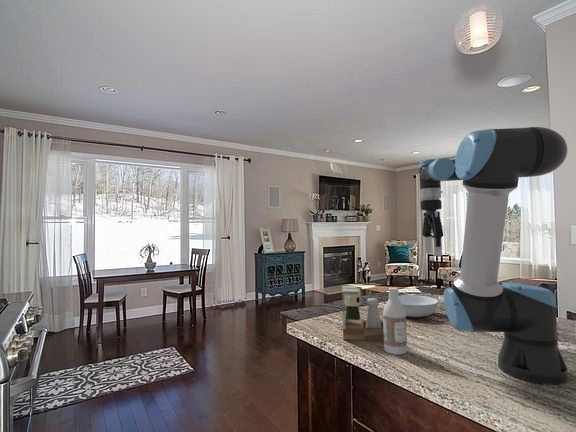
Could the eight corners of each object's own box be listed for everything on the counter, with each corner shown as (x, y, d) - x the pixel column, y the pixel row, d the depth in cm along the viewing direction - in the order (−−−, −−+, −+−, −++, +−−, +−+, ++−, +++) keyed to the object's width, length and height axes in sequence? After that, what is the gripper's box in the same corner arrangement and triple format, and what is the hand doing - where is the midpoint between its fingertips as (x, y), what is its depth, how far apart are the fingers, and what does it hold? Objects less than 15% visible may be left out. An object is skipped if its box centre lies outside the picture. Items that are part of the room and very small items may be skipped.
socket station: (393, 342, 111) (391, 292, 112) (343, 340, 114) (342, 291, 115) (388, 331, 123) (387, 286, 124) (343, 329, 126) (342, 285, 127)
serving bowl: (409, 307, 160) (408, 293, 160) (448, 316, 142) (448, 300, 142) (379, 313, 149) (378, 298, 149) (418, 324, 131) (417, 307, 131)
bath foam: (391, 356, 99) (389, 290, 100) (380, 348, 106) (378, 287, 107) (411, 354, 101) (409, 289, 101) (399, 346, 107) (397, 285, 108)
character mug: (359, 325, 132) (358, 292, 132) (341, 323, 134) (341, 291, 135) (363, 317, 142) (362, 288, 142) (347, 316, 144) (346, 287, 145)
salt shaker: (382, 337, 115) (381, 300, 115) (366, 336, 116) (365, 300, 116) (381, 332, 120) (380, 297, 121) (365, 331, 122) (364, 296, 122)
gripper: (451, 196, 113) (454, 257, 112) (432, 201, 138) (434, 251, 137) (428, 197, 114) (431, 257, 113) (413, 202, 139) (415, 252, 138)
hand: (432, 254), depth 125 cm, fingers open, 13 cm apart
